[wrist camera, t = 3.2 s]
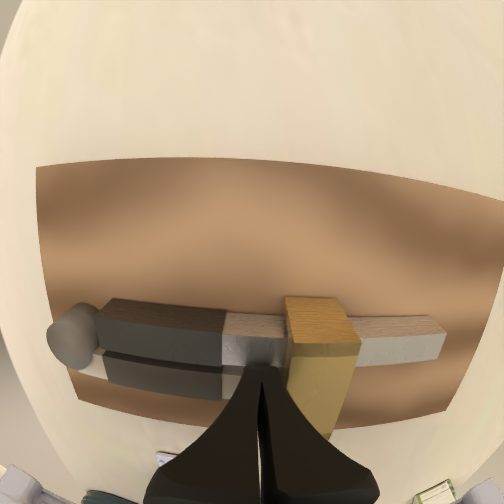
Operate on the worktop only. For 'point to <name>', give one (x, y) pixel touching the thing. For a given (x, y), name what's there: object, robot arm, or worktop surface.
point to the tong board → (262, 270)
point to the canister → (103, 498)
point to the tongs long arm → (249, 335)
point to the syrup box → (437, 494)
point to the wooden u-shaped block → (319, 358)
